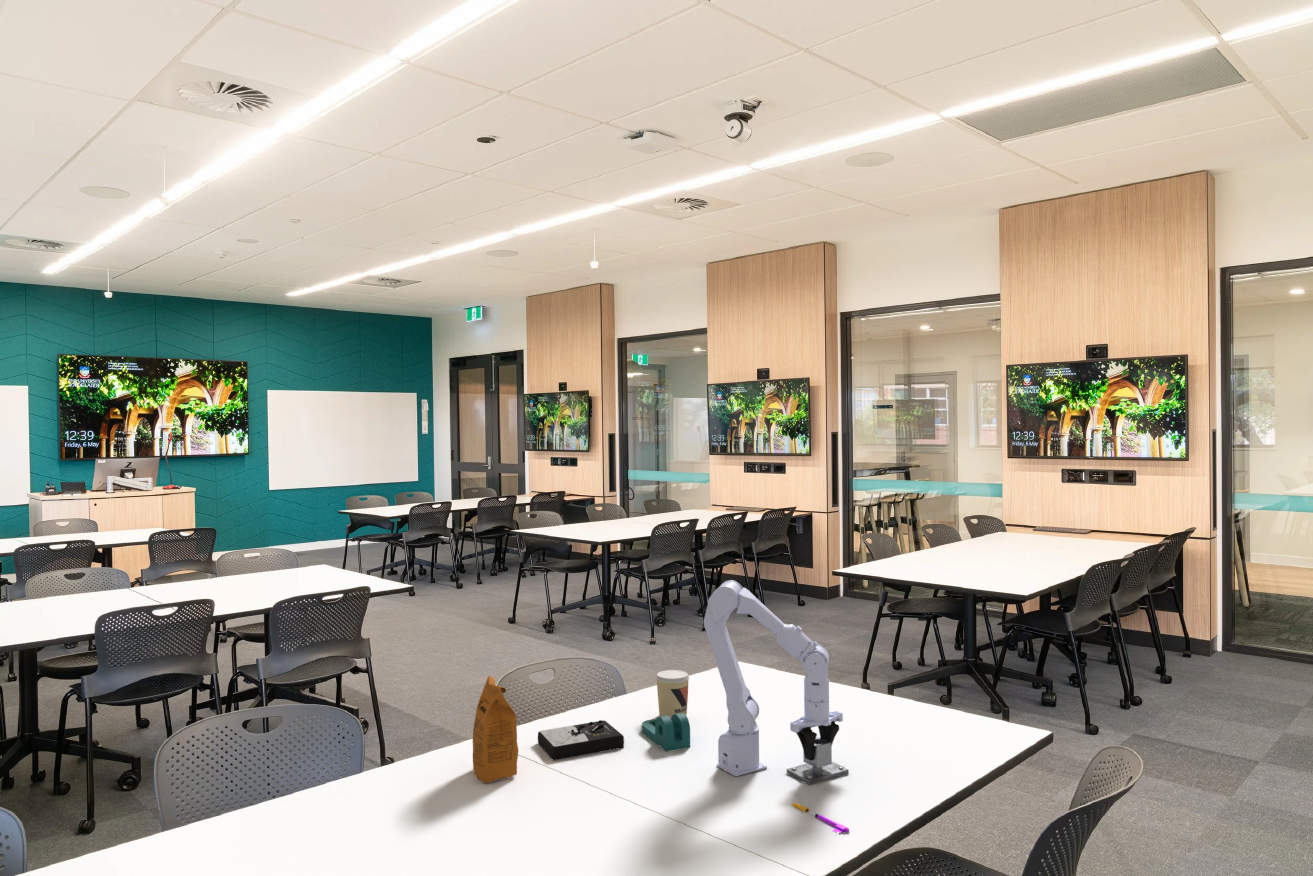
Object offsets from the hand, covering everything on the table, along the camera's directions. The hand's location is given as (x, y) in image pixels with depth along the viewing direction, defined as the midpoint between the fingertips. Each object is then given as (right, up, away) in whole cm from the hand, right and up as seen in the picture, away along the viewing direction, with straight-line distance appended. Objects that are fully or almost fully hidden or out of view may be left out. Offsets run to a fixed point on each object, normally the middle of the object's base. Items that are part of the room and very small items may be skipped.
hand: (817, 756), depth 197 cm
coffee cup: (-33, -4, +41) cm, 53 cm away
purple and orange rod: (-5, -5, -23) cm, 24 cm away
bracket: (-36, -5, +24) cm, 44 cm away
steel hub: (0, -1, 0) cm, 1 cm away
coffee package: (-76, -5, +2) cm, 76 cm away
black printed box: (-57, -5, +20) cm, 61 cm away
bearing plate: (0, -4, 0) cm, 4 cm away
